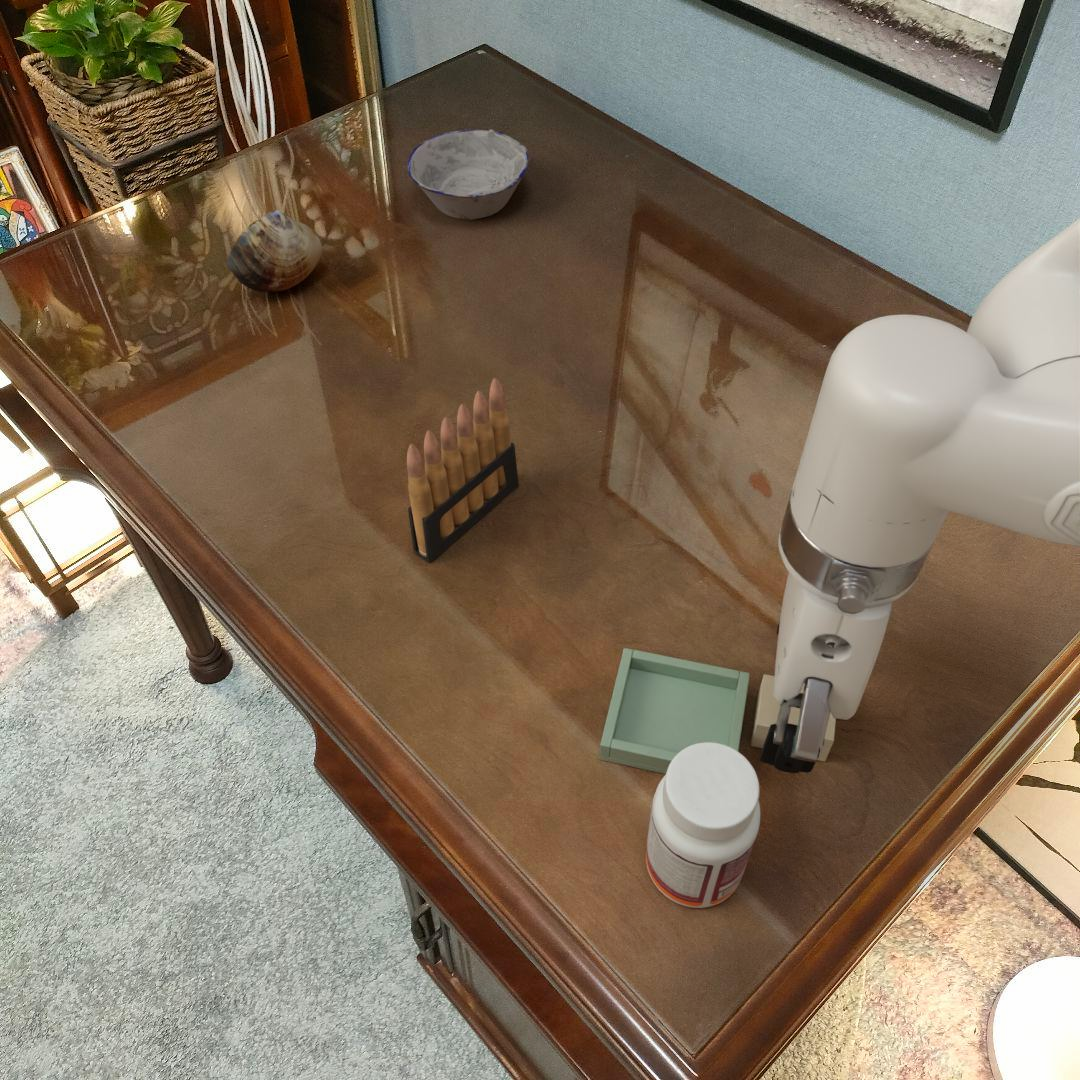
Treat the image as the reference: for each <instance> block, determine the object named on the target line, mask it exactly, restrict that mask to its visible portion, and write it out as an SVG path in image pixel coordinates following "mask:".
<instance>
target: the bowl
mask: <svg viewBox="0 0 1080 1080" xmlns="http://www.w3.org/2000/svg"><path fill="white" fill-rule="evenodd" d="M528 153H529V149H528V148H527V147H526V146H525V145H524V144H521V143H520V142H519V141H518V140H517V139H514V138H513V137H511V136H510V135H507V134H505V133H503V132H502V131H495V129H491V128H490V129H489V130H484V129H467V130H455V131H449V132H443V133H439V134H438V135H434V136H432V137H430V138H428V139H426V140H424V141H423V142H422V143H420V144H419V145H417V146H416V147H413V150H412V152H411V153H410V154H409V157H408V160H407V165H406V166H407V167H406V168H407V173H408V175H409V177H410V179H411V180H412V181H413V182H414V183H415V184H416V185H417V186H418V187H419V188H420V189H421V190H422V191H423V193H424V194H425V195H426V196H427V198H429V200H430V201H431V203H432V204H433V205H434V206H435V207H436V208H437V209H438V210H439V211H440V212H441V213H443V214H444V215H446V216H448V217H451V218H454V219H459V220H479V219H483V218H487V217H490V216H493V215H495V214H497V213H498V212H500V211H502V209H504V208H505V207H506V205H507V204H508V203H509V200H510V199H511V197H512V196H513V194H514V192H515V191H516V189H517V187H518V185H519V184H520V182H521V180H522V179H523V177H524V176H525V174H526V173H527V171H528V169H529V164H530V157H529V156H530V155H529V154H528Z"/></svg>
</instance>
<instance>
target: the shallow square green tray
mask: <svg viewBox="0 0 1080 1080" xmlns="http://www.w3.org/2000/svg"><path fill="white" fill-rule="evenodd" d="M750 676H751V673H750V672H747V671H740V670H736V669H732V668H727V667H722V666H717V665H712V664H709V663H708V664H707V663H702V662H698V661H697V662H696V661H692V660H687V659H682V658H677V657H674V656H673V657H672V656H668V655H662V654H658V653H653V652H648V651H643V650H637V649H633V648H628V647H624V648H623V650H622V654H621V659H620V662H619V666H618V670H617V674H616V677H615V682H614V686H613V691H612V694H611V698H610V702H609V707H608V711H607V715H606V719H605V723H604V728H603V732H602V735H601V740H600V744H599V760H601V761H605V762H609V763H614V764H618V765H623V766H628V767H632V768H636V769H641V770H646V771H650V772H655V773H657V774H658V773H659V774H663V775H666V772H667V769H668V767H669V765H670V763H671V761H672V760H673V758H674V757H675V756H676V755H677V754H678V753H679V752H680V751H682V750H683V749H685V748H687V747H688V746H691V745H694V744H697V743H704V742H712V743H719V744H723V745H726V746H729V747H731V748H733V749H735V750H736V751H738V752H740V751H739V750H740V744H741V737H742V729H743V724H744V723H743V722H744V718H745V717H744V716H745V710H746V703H747V697H748V690H749V682H750Z"/></svg>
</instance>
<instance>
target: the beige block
mask: <svg viewBox="0 0 1080 1080" xmlns="http://www.w3.org/2000/svg"><path fill="white" fill-rule="evenodd" d="M774 676H775V675H771V674H766V673H765V674H763V675H762V680H761V682H760V686H759V690H758V693H757V696H756V703H755V710H754V717H753V718H754V720H753V726H752V731H751V739H750V746H751V747H754V748H759V749H762V748H763V745H764V742H765V739H766V737H767V734H768V731H769V728H770V726H771V724H772V725H773V724H776V723H777V718H778V714H779V710H780V705H779V704H778V702H777V701H776V700H775V698H774V696H773V686H774ZM804 686H805V683H803V686H802V688H801V691H800V693H803V692H804ZM799 714H800V708H796V707H791V711H790V715H789V720H788V723H789V724H794V725H798V720H799ZM836 722H837V718H833V716H832V714H831V712H830V716H829V721H828V725H827V729H826V733H825V739H824V745H823V747H822V750H821V753H820V754H819V758H817V760H816V761H820V762H826V761H827V758H828V756H829V754H830V752H831V749H832V747H833V745H834V742H835V735H836Z"/></svg>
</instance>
